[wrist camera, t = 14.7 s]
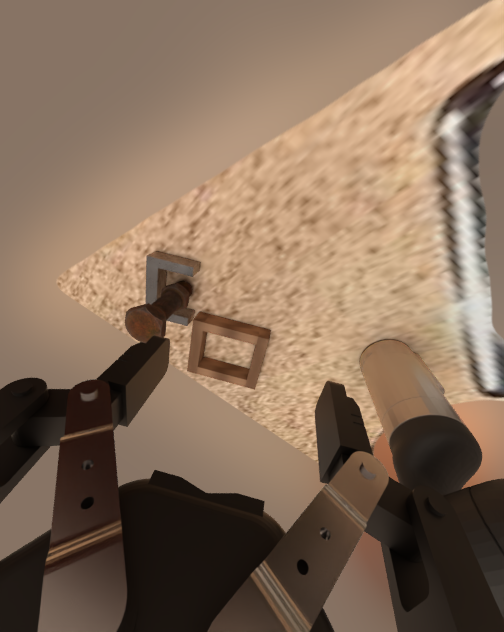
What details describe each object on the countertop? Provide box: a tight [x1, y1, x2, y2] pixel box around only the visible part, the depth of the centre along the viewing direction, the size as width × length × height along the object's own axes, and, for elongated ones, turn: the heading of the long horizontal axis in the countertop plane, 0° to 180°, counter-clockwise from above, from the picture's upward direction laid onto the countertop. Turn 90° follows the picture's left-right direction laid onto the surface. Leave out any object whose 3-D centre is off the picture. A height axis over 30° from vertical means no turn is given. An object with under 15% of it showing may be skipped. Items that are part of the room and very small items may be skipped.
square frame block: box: [187, 312, 271, 389], centre depth 50 cm, size 14×12×4 cm
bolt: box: [125, 281, 192, 343], centre depth 41 cm, size 6×5×15 cm
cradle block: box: [146, 251, 201, 326], centre depth 46 cm, size 8×11×4 cm
